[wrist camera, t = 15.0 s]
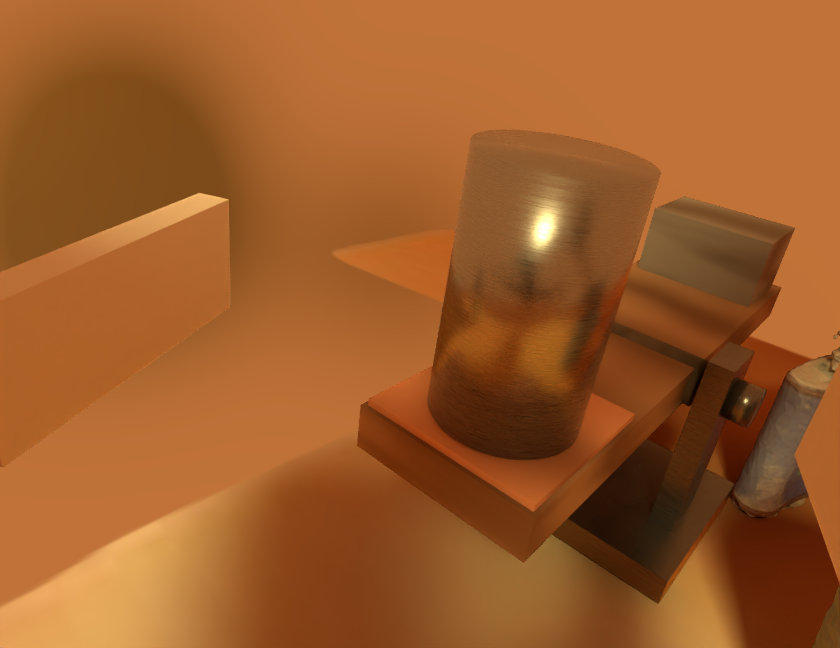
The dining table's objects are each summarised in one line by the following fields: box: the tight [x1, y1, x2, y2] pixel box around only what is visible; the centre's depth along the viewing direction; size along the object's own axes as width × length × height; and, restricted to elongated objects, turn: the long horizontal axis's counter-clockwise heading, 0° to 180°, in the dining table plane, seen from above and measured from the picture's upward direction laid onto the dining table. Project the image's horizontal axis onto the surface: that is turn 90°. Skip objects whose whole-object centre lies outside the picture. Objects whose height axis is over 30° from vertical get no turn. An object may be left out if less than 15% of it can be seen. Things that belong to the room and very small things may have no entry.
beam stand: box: [552, 342, 767, 603], centre depth 35 cm, size 10×14×11 cm
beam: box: [357, 197, 795, 563], centre depth 33 cm, size 30×9×6 cm, turn 139°
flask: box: [731, 331, 840, 517], centre depth 37 cm, size 9×3×11 cm, turn 117°
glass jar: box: [427, 130, 661, 460], centre depth 23 cm, size 6×6×10 cm
